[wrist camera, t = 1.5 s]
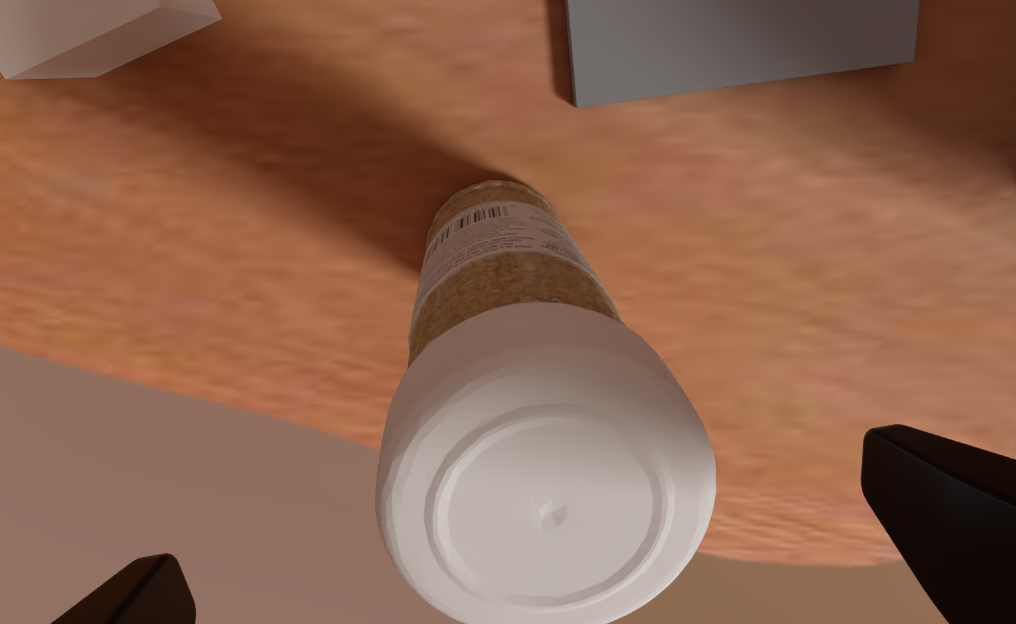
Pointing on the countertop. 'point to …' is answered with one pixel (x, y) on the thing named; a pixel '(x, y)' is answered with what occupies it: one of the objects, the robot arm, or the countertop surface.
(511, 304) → the sprinkles bottle
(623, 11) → the grey mat
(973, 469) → the robot arm
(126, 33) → the light grey block
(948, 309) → the countertop surface
